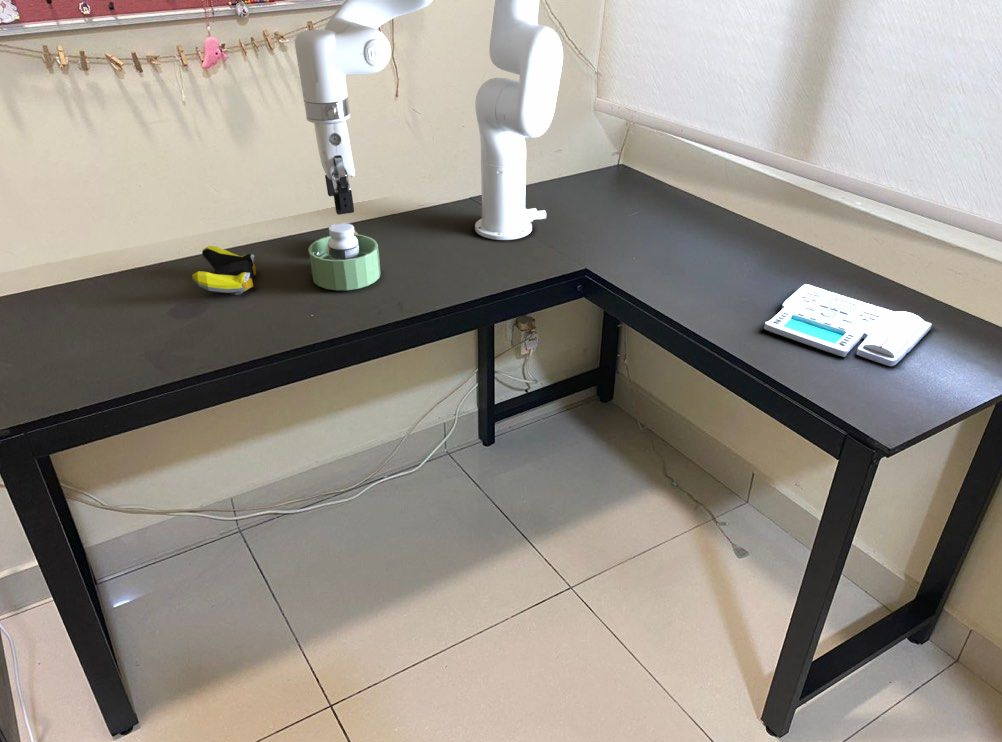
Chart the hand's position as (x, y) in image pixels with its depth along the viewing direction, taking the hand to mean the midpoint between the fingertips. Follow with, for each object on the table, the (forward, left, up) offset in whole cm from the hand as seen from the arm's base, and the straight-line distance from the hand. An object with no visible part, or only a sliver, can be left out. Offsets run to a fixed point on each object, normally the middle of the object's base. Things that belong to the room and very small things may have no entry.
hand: (340, 203), depth 148 cm
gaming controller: (+23, -4, -15) cm, 27 cm away
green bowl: (+1, 0, -15) cm, 15 cm away
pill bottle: (+1, 0, -15) cm, 15 cm away
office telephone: (-78, +49, -15) cm, 94 cm away
